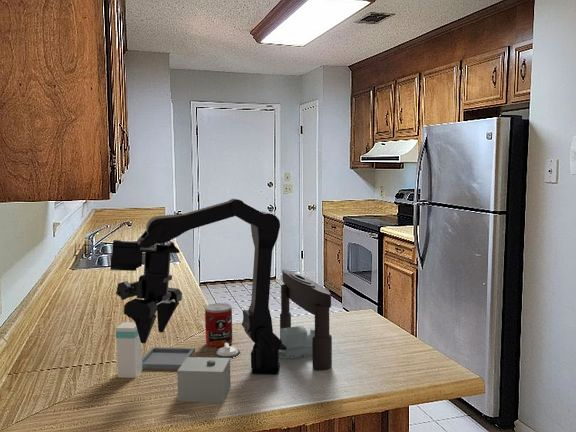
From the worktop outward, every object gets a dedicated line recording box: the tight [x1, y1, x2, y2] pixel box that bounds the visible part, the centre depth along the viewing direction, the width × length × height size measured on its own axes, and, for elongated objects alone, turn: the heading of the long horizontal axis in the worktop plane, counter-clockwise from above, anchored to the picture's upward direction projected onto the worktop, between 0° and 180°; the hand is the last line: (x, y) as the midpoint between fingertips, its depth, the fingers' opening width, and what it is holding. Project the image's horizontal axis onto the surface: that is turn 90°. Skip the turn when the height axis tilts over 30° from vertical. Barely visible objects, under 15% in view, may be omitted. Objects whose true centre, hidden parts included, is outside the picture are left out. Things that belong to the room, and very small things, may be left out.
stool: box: [279, 269, 333, 371], centre depth 140 cm, size 16×21×33 cm
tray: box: [142, 346, 196, 371], centre depth 136 cm, size 12×12×2 cm
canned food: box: [204, 302, 233, 348], centre depth 148 cm, size 8×8×11 cm
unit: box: [176, 356, 232, 404], centre depth 116 cm, size 10×8×8 cm
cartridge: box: [115, 321, 144, 379], centre depth 127 cm, size 5×5×12 cm
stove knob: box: [213, 343, 241, 359], centre depth 141 cm, size 7×7×3 cm
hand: (152, 337), depth 120 cm, fingers open, 9 cm apart
